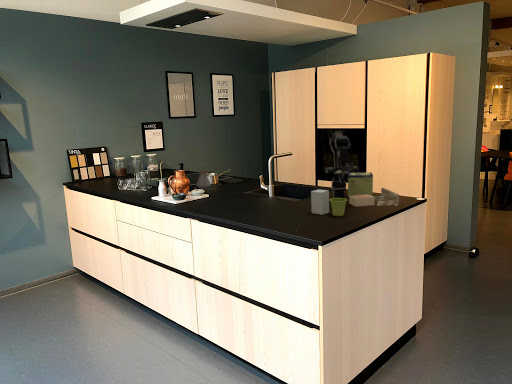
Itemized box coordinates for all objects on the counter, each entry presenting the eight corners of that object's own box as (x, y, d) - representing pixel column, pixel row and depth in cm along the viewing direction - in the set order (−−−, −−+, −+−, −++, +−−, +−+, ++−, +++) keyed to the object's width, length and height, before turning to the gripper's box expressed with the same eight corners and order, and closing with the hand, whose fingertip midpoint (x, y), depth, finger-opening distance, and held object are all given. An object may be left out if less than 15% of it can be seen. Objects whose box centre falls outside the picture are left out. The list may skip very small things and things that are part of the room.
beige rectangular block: (355, 207, 247) (355, 198, 246) (349, 204, 256) (349, 195, 255) (374, 205, 249) (374, 196, 248) (367, 202, 258) (367, 194, 257)
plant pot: (343, 212, 234) (343, 197, 233) (349, 216, 225) (349, 200, 223) (327, 213, 233) (327, 198, 231) (333, 217, 224) (333, 201, 222)
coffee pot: (194, 188, 337) (192, 169, 334) (206, 186, 344) (205, 168, 341) (207, 191, 320) (206, 171, 318) (220, 189, 327) (219, 170, 324)
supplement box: (329, 212, 236) (329, 190, 234) (321, 215, 231) (321, 192, 229) (318, 210, 241) (318, 189, 239) (311, 213, 236) (310, 191, 234)
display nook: (380, 207, 242) (380, 195, 241) (366, 199, 264) (366, 188, 262) (398, 206, 243) (398, 194, 242) (383, 198, 265) (383, 187, 263)
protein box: (373, 198, 266) (373, 174, 263) (347, 199, 269) (347, 175, 266) (372, 195, 276) (372, 172, 273) (347, 195, 279) (347, 172, 276)
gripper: (330, 160, 237) (330, 187, 240) (362, 158, 239) (362, 185, 242) (325, 158, 248) (325, 184, 251) (355, 156, 250) (355, 182, 253)
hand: (342, 184), depth 249 cm, fingers closed
